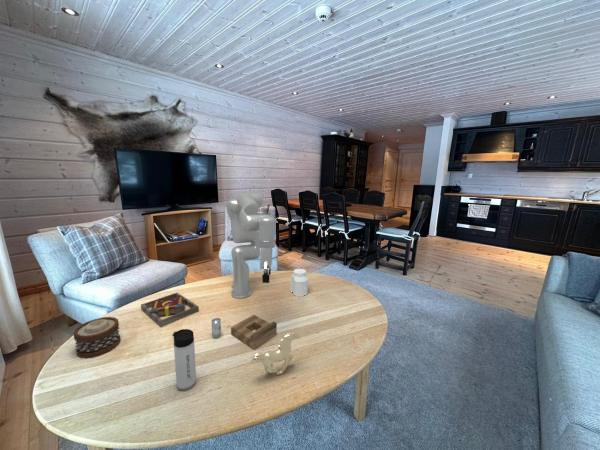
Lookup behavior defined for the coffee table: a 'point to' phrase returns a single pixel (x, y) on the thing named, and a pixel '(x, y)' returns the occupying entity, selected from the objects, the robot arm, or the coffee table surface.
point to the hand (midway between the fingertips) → (266, 278)
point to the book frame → (171, 319)
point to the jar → (299, 282)
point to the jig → (257, 337)
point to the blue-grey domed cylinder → (216, 328)
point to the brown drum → (97, 337)
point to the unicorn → (277, 354)
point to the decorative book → (168, 306)
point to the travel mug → (184, 359)
